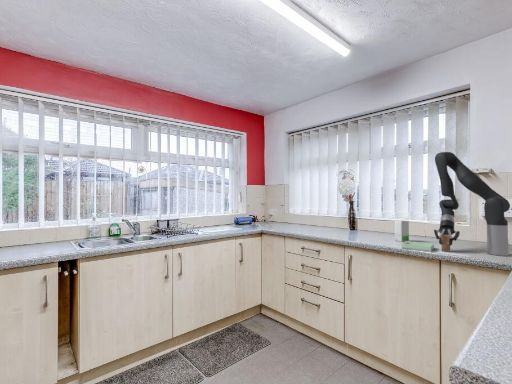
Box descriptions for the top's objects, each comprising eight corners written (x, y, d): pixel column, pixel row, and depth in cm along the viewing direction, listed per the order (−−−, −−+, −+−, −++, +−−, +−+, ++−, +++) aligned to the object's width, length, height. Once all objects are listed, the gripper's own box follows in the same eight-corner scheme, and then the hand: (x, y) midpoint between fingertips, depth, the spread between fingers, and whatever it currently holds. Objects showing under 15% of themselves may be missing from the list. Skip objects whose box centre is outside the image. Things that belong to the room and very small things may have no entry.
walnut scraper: (450, 251, 168) (449, 234, 168) (449, 252, 165) (449, 235, 165) (442, 250, 170) (442, 234, 171) (441, 251, 167) (441, 235, 168)
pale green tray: (434, 248, 177) (433, 243, 177) (430, 251, 166) (430, 246, 166) (406, 245, 187) (406, 241, 187) (401, 248, 177) (401, 243, 177)
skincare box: (401, 242, 202) (401, 221, 202) (394, 240, 208) (393, 220, 209) (409, 241, 205) (409, 220, 206) (401, 240, 211) (401, 220, 212)
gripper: (433, 218, 178) (431, 239, 169) (460, 219, 169) (459, 241, 160) (434, 226, 182) (432, 246, 173) (461, 227, 173) (460, 249, 164)
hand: (445, 244), depth 166 cm, fingers closed on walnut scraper, 4 cm apart
